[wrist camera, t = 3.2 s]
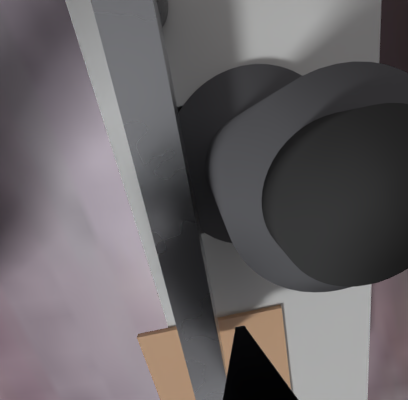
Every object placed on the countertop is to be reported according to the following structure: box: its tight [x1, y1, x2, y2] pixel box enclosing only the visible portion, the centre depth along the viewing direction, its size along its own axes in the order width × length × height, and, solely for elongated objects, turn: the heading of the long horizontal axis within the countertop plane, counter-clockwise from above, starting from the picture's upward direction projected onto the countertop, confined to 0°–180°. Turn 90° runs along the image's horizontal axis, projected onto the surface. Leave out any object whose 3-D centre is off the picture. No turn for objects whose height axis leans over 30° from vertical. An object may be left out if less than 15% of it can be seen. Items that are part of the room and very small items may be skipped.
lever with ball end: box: [91, 0, 227, 400], centre depth 6 cm, size 2×14×3 cm, turn 9°
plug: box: [178, 61, 408, 292], centre depth 7 cm, size 6×6×9 cm
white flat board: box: [65, 0, 381, 400], centre depth 10 cm, size 12×26×3 cm, turn 11°
